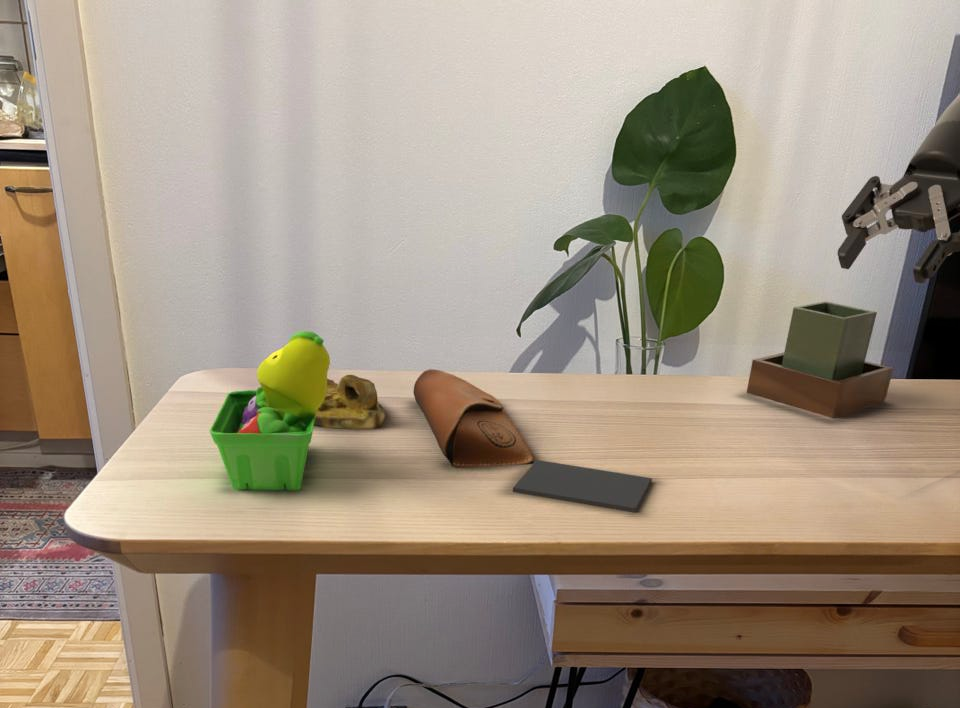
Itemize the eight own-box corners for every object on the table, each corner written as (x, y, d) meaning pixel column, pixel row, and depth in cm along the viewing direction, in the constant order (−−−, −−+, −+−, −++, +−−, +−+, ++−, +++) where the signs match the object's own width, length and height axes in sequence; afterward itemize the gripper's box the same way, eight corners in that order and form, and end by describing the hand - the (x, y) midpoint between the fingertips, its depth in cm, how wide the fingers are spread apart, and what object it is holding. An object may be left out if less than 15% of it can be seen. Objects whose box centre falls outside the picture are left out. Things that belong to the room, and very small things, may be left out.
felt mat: (651, 484, 80) (652, 477, 79) (635, 515, 74) (636, 508, 74) (536, 466, 82) (536, 459, 82) (512, 494, 76) (512, 487, 76)
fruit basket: (233, 447, 83) (221, 313, 77) (336, 448, 84) (332, 316, 78) (214, 497, 73) (198, 348, 67) (330, 498, 74) (325, 351, 68)
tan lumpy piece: (238, 414, 94) (347, 449, 86) (229, 367, 91) (340, 399, 83) (307, 385, 100) (415, 415, 92) (300, 340, 97) (411, 367, 89)
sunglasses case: (542, 460, 82) (507, 394, 78) (471, 502, 82) (434, 439, 79) (494, 398, 97) (463, 341, 93) (435, 434, 98) (402, 379, 94)
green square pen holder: (806, 385, 106) (825, 301, 101) (855, 399, 102) (877, 312, 97) (775, 394, 102) (793, 307, 98) (825, 408, 98) (846, 318, 94)
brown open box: (799, 384, 109) (807, 346, 107) (883, 407, 102) (893, 368, 100) (745, 398, 103) (752, 359, 100) (831, 424, 96) (840, 383, 94)
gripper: (894, 113, 102) (811, 235, 101) (1029, 122, 93) (939, 256, 92) (905, 167, 108) (826, 283, 107) (1033, 181, 99) (949, 307, 98)
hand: (879, 270), depth 100 cm, fingers open, 8 cm apart
